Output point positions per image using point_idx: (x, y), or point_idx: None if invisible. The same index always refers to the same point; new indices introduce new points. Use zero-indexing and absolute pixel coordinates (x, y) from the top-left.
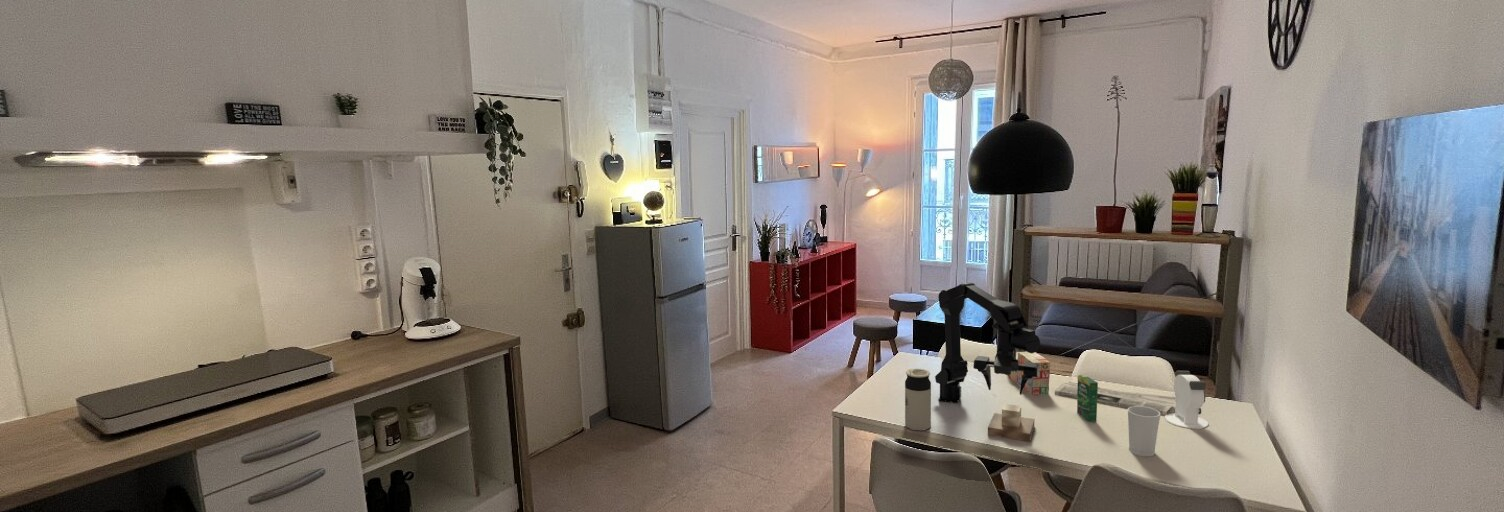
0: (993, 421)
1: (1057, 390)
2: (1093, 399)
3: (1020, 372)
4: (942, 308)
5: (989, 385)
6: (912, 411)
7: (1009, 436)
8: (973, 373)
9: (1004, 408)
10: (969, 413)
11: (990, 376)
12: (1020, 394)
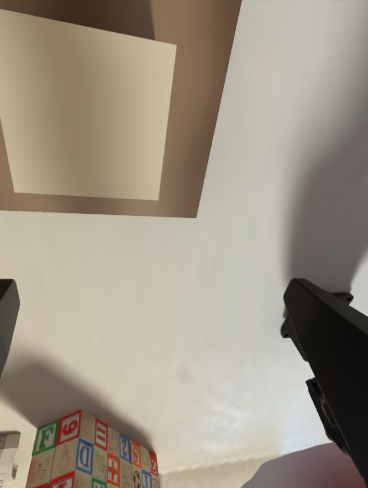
0: (205, 93)
1: (10, 450)
2: None
3: (122, 479)
4: None
5: (330, 304)
6: None
7: None
8: (227, 435)
9: (152, 80)
10: (276, 235)
11: (347, 419)
12: (5, 279)
